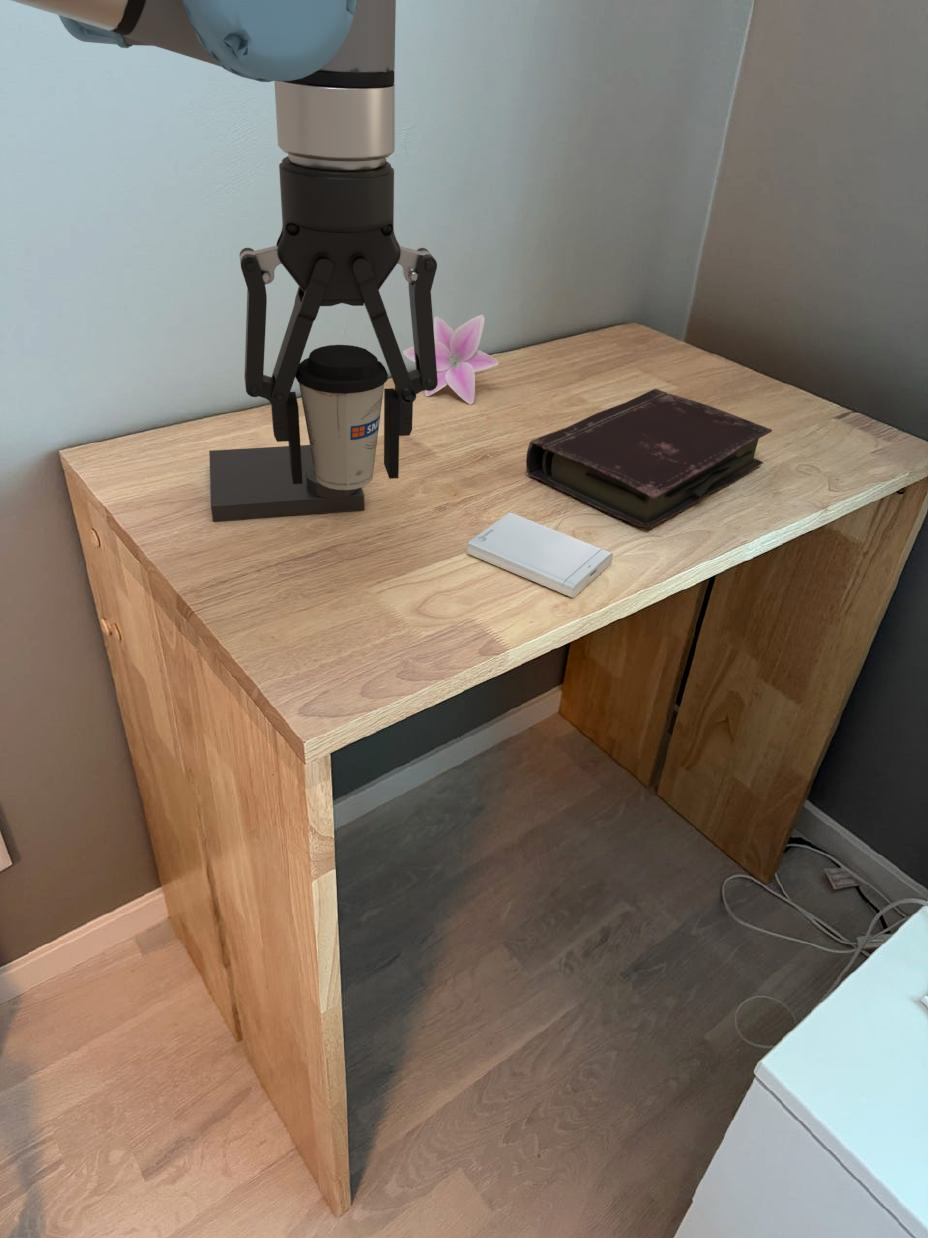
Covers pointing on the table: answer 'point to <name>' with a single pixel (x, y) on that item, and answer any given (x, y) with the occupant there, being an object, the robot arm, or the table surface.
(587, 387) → the table surface
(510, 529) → the hard drive
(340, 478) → the coffee cup
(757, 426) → the diary
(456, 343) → the lily
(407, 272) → the robot arm
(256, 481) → the scale
